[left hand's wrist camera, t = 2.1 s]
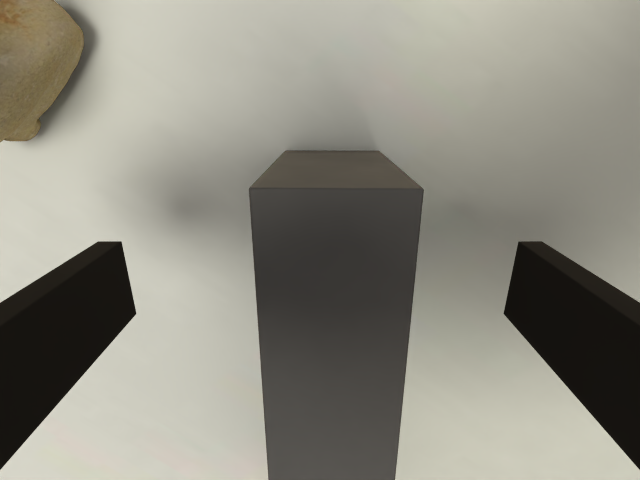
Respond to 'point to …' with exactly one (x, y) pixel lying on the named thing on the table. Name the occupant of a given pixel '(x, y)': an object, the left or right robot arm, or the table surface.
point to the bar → (334, 310)
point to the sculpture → (33, 62)
